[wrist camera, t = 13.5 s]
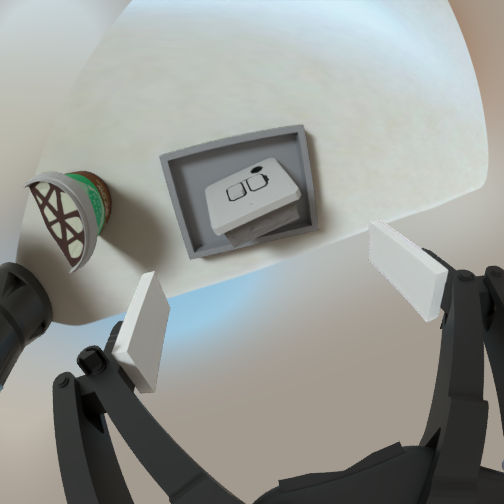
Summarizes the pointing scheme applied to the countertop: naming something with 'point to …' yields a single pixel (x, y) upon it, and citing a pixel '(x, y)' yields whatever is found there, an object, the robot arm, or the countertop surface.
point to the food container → (73, 211)
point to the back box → (225, 164)
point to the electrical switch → (252, 202)
